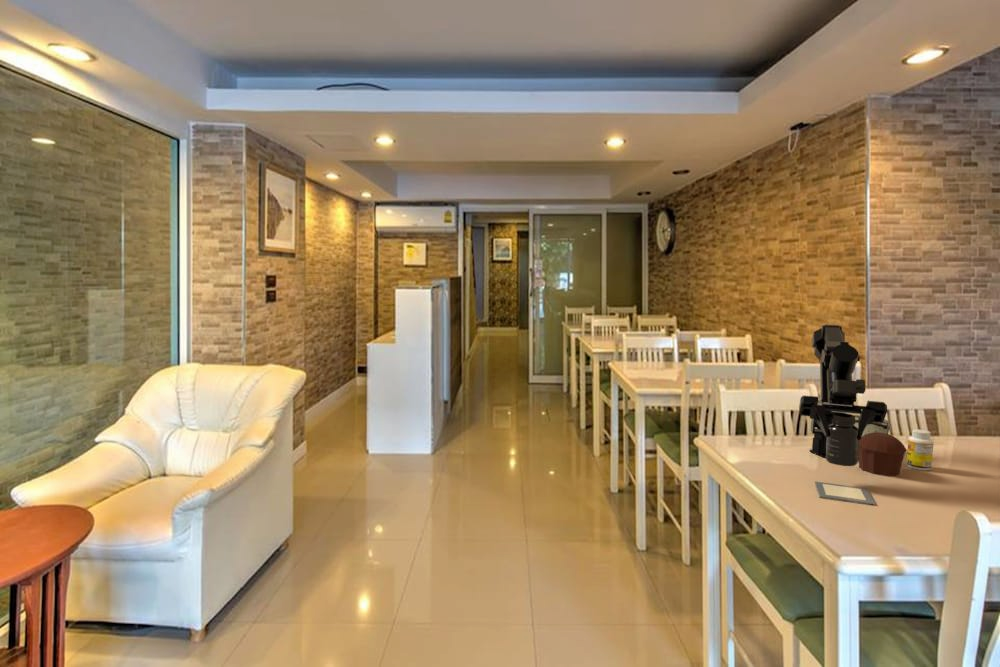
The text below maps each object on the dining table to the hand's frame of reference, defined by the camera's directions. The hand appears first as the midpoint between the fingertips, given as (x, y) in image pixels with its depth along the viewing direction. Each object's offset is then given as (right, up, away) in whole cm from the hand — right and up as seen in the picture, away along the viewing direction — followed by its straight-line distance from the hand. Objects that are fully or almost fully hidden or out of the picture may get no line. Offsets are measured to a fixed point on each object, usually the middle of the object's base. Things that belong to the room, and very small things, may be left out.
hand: (843, 437), depth 141 cm
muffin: (+18, -11, +13) cm, 25 cm away
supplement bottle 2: (+30, -11, +16) cm, 36 cm away
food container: (+27, -10, +32) cm, 43 cm away
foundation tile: (-3, -12, -4) cm, 13 cm away
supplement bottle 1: (+1, -7, +2) cm, 7 cm away
